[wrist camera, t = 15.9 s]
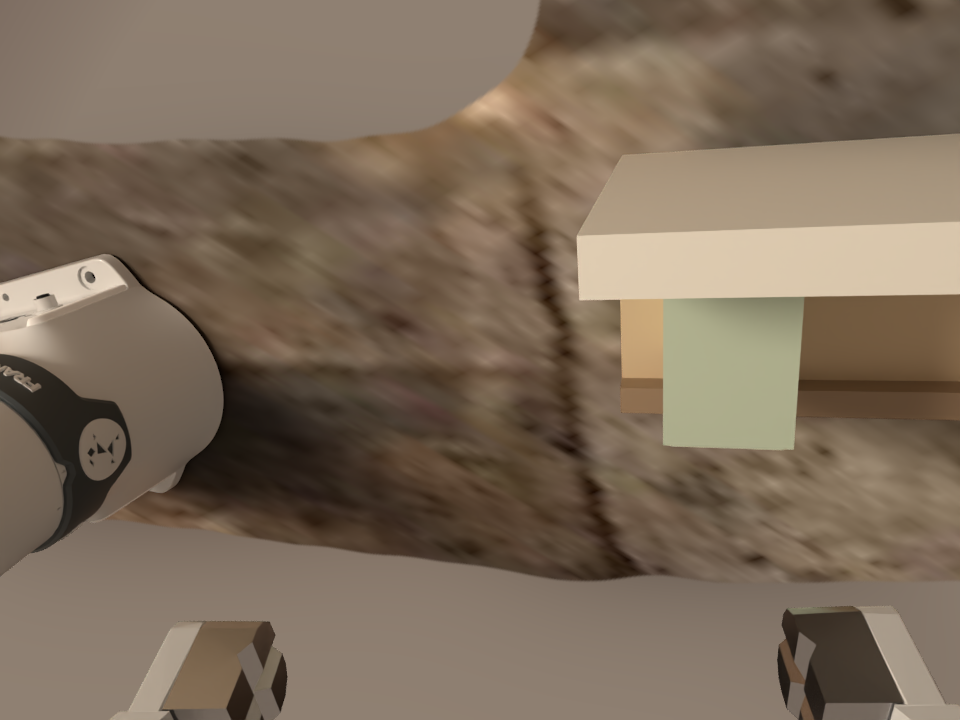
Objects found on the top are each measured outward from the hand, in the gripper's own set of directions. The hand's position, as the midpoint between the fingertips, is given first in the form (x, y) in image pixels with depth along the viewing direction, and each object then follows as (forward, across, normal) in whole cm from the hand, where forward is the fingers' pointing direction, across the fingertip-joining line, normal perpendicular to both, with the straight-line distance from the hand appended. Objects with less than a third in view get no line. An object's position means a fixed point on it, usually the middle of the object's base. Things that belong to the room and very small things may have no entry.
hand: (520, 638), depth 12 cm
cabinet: (+29, -9, +8) cm, 31 cm away
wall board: (+32, -15, +9) cm, 36 cm away
